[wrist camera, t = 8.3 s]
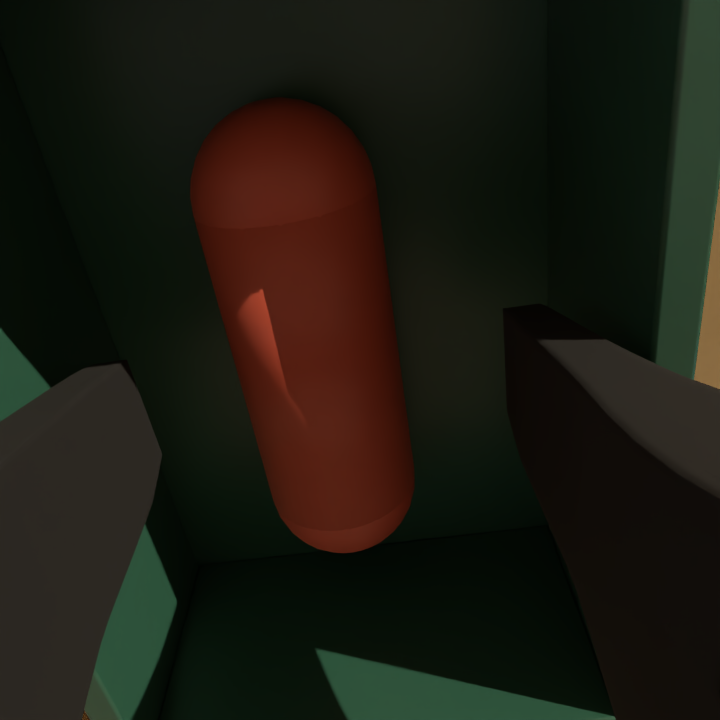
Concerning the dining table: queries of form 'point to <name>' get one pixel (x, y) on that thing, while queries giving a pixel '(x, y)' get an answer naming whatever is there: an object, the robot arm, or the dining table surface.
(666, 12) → the bin
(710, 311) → the dining table surface
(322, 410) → the red capsule pill
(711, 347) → the dining table surface
